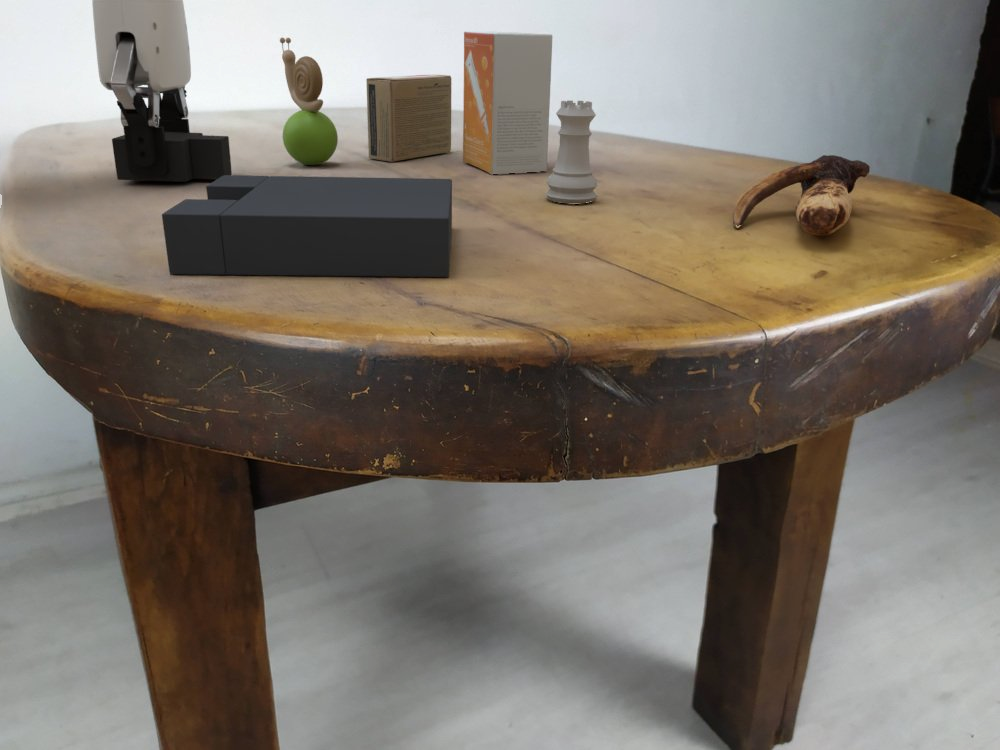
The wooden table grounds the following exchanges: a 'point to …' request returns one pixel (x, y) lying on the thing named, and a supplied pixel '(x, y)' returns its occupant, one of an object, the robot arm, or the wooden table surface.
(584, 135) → the rook chess piece
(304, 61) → the snail figurine
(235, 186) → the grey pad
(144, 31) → the robot arm
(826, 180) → the lashed bone hook
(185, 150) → the black stepped block
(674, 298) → the wooden table surface
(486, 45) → the small box
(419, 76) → the ink box
